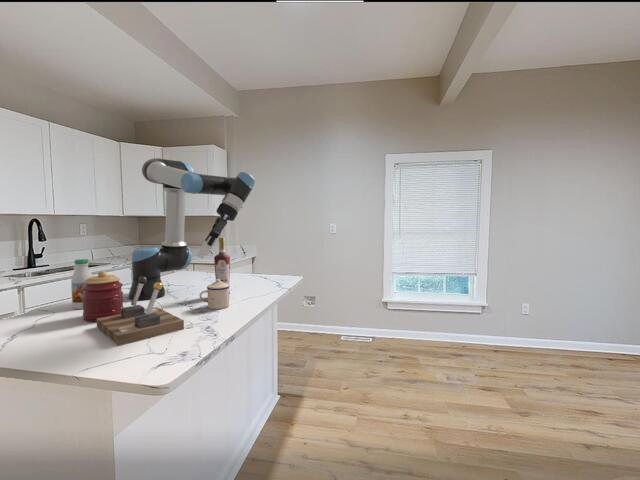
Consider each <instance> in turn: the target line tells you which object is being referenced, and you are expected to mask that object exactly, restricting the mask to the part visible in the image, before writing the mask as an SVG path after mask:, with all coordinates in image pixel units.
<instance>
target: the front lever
mask: <svg viewBox="0 0 640 480" xmlns="http://www.w3.org/2000/svg"><path fill="white" fill-rule="evenodd" d="M162 284H163V282H162V283H160V282H156V283H155V284H154V285H153V288H154V291H153V294H152V297H151V299H149V301H148V305H147V307H146V309H147V310H146V313H147V314H151V311H152V309H153V308H154V306H155V303H156V300H157V299H158V298H157V295H158V292H159V290H161V289H162V287H164V285H162Z"/></svg>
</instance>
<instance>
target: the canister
mask: <svg viewBox="0 0 640 480" xmlns="http://www.w3.org/2000/svg"><path fill="white" fill-rule="evenodd" d="M120 280H121V278H120V277H118V276H116V275H113V274H107V272H106V271H105V270H100V271H98V273H97V275H94V276H93V277H89V278H88V279H87V280H85V281H84V283H86V284H85V286H83V287H82V288H81V289H82V290H83V296H82V299H83V309H82V317H83V320H84V321H86V322H91V323H92V322H93V323H95V322H96V323H97V320H96V319H98V318H103V317H108V316H113V315H118V314H121V308H124V301H123V300H124V297H123V295H124V292H123V291H122V287H123V283H121V281H120Z"/></svg>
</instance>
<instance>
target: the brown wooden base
mask: <svg viewBox="0 0 640 480" xmlns="http://www.w3.org/2000/svg"><path fill="white" fill-rule="evenodd" d="M146 310H147V308H145V307H144V306H142V305H140V304H136V306H133V305H130V306H125V307H124V306H123V308H121V314H118V315H113V316H108V317H103V318H98V319H96V320H97V322H96V328H97V329H98V330H99V331H101V332H102V333H103V334H104V335H105V336H106V337H107V338H108V339H110V341H112V342H113V343H114V344H116V345H117V346H118V347H119V346H122V345H126V344H130V343H134V342H137V341H138V342H139V341H142V340H145V339H149V338H154V337H157V336H161V335H165V334H169V333H172V332H173V333H174V332H177V331H181V330H184V329H185V321H184V319H182V318H180V317H178V316H176V315H174V314H172V313H170V312H168V311H166V310H164V309H162V308H159V307H158V306H156V307H154V306H153V309H152V311H151V314H147V313H146Z"/></svg>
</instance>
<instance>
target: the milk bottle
mask: <svg viewBox="0 0 640 480" xmlns="http://www.w3.org/2000/svg"><path fill="white" fill-rule="evenodd" d="M74 266H75V268H74V269H75V270H74V272H73V273H72V277H71V285H70V286H71V303H72V304H71V305H72V306H71V307H72V309H75V310H83V299H82V296H83V290H82V289H81V288H82V287H83V286H85V284H86V283H84V281H85V280H87V279H88V278H89V277H93V273H92V272H91V270H90V269H89V268H90V267H89V259H88V258H81V259H80V258H79V259H75V260H74Z"/></svg>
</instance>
